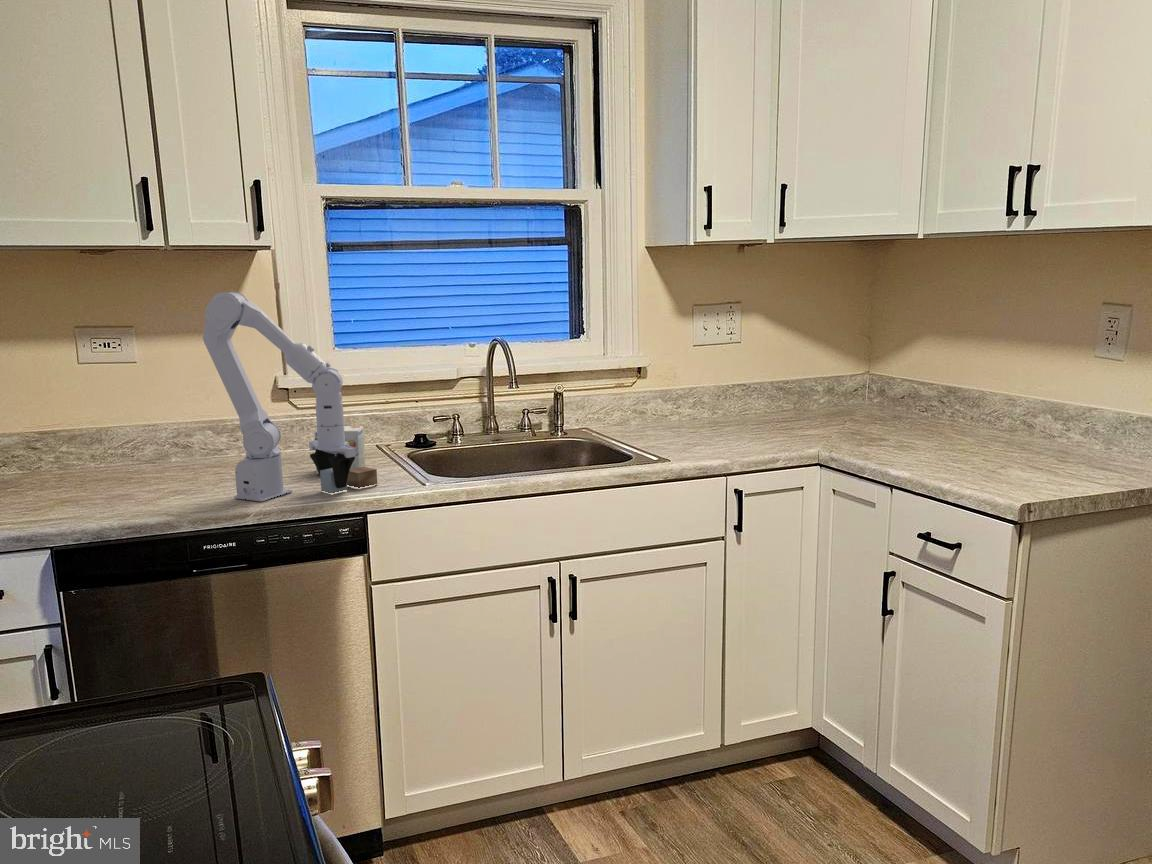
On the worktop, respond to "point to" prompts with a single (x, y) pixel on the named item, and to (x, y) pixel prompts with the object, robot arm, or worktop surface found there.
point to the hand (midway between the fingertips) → (334, 485)
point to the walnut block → (362, 477)
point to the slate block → (329, 481)
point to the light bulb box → (354, 444)
